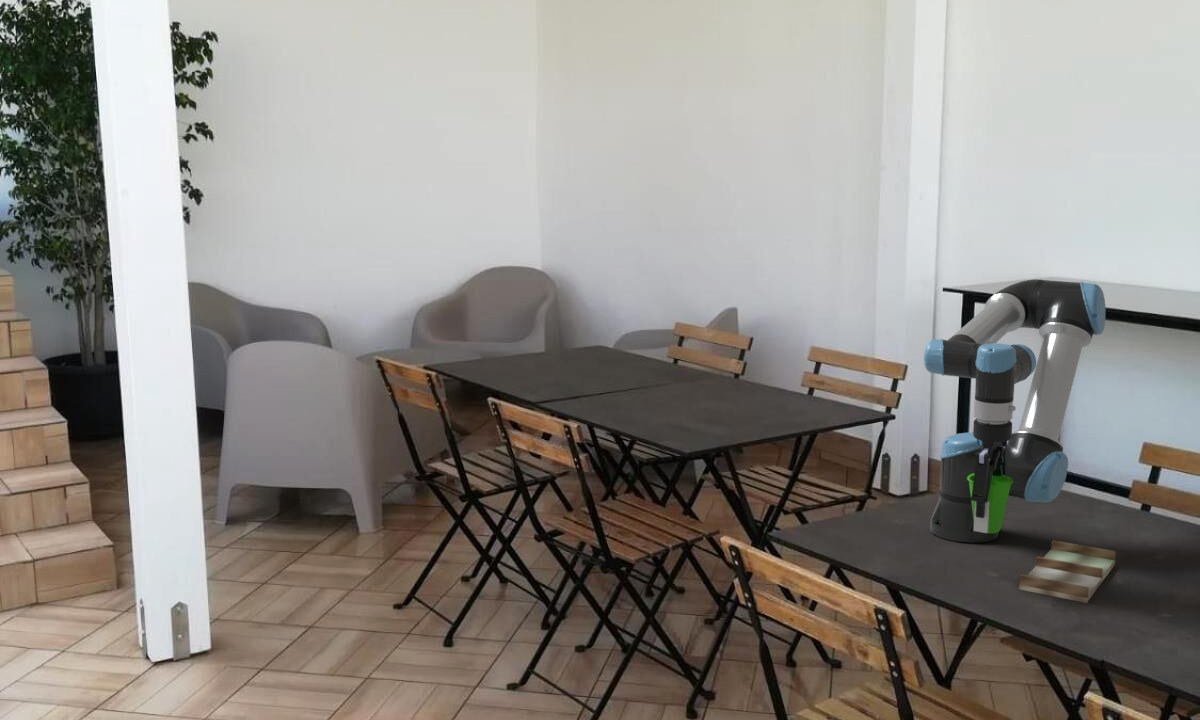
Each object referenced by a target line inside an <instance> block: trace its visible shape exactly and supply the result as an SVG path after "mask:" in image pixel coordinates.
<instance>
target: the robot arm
mask: <svg viewBox="0 0 1200 720" xmlns="http://www.w3.org/2000/svg"><path fill="white" fill-rule="evenodd" d="M1105 324H1106V299H1105V294H1104V291H1103V289H1102V287H1100V286H1099V284H1095V283H1088V282H1084V281H1080V282H1077V281H1076V282H1074V281H1062V280H1051V279H1050V280H1047V279H1035V278H1034V279H1027V280H1022V281H1018V282H1015V283H1013V284H1011V285H1010V284H1009V286H1005V287H1004V288H1002V289H1000V290H998V291H997V292H995V293H994V294H993V295H992V296H990V297H989V298H988V299H987V301H986V302H985V305H984V308H983V309H982V310H981V311H979V313H977V314H976V315H975V316H974V317H973V318H971V320H969V321H968V322H967V323H966V324H965V325H964V326H962V327H961V328H960V329H958V331H956V332H955V333H954V334H953V335H952V336H951V337H949V339H943V338H940V339H931V340H930V341H929V342H928V343H927V345H926V347H925V350H924V355H923V362H924V367H925V369H926V371H928V372H929V373H931V374H937V375H941V376H947V377H958V378H969V379H975V386H974V387H975V389H974V390H975V392H974V394H975V395H974V405H973V417H974V418H975V419H974V420H973V427H972V428H973V429H972V431H973V432H972V431H971V432H962V433H960V432H959V433H955V434H952V435H951V434H950V435H949V436H947V437H945V439H944V440H943V441H942V445H941V454H940V456H939V457H940V472H939V473H940V474H939V497H938V499H937V502H936V505H935V508H934V510H933V513H932V516H931V517H930V524H929V531H930V532H931V533H932V534H933V535H934V534H935V536H937V537H939V538H942V539H945V540H949V541H952V542H960V543H969V544H970V543H974V544H975V543H985V542H986V543H987V542H990V541H994V540H996V539H997V538H998V537H999V532H997V533H987V532H988V518H989V502H988V496H989V490H990V485H991V479H992V475H994V476H1001V475H1006V476H1008V477H1010V478H1012V480H1013V483H1012V484H1011V486H1010V490H1009V495H1008V498H1013V499H1017V500H1022V501H1027V502H1031V503H1032V502H1035V503H1036V502H1037V503H1043V504H1044V503H1046V504H1047V503H1050V502H1052V501H1053V500H1055V499H1056V498H1057V497H1058V495H1059V494H1060V492H1061V490H1062V489H1063V486H1064V484H1065V482H1066V479H1067V474H1068V472H1067V470H1068V467H1069V459H1068V456H1067V454H1065V452H1064V446H1063V445H1062V443H1061V442H1060V440H1059V438H1060V434H1061V430H1062V426H1063V423H1064V419H1065V415H1066V412H1067V411H1066V410H1067V406H1068V404H1069V400H1070V395H1071V392H1072V387H1073V383H1074V381H1075V377H1076V373H1077V368H1078V365H1079V361H1080V357H1081V354H1082V349H1083V348H1085V347H1088V346H1090V344H1091V343H1092V339H1093V336H1098V335H1101V334H1102V333H1103V332H1104V330H1105V326H1106V325H1105ZM1020 328H1022V329H1023V328H1026V329H1037V330H1038V333H1039V335H1040V337H1041V338H1042V344H1041V347H1040V350H1039V353H1038V358H1036V355H1035V352H1034V351H1033V350H1032V349H1031V348H1030V347H1028V346H1027V345H1024V344H1021V343H1019V344H1016V343H1015V344H1007V343H997V342H999V341H1000V340H1001V339H1002V338H1003V337H1004V336H1006V334H1008V333H1011V332H1014V331H1017V330H1018V329H1020ZM1032 374H1033V377H1032V380H1031V383H1030V388H1029V390H1028V394H1027V399H1026V402H1025V406H1024V410H1023V413H1022V416H1021V421H1020V425H1019V427H1018V430H1016V431H1013V423H1012V421H1011V420H1012V419H1013V415H1014V414H1013V413H1014V412H1015V411H1016V406H1015V405H1014V399H1015V398H1014V397H1015V396H1014V394H1015V385H1016V384H1018V383H1019V382H1022V381H1025V380H1026V379H1028V377H1030V376H1031V375H1032ZM971 474H974V481H973V490H972V497H971V493H970V485H969V481H968V479H967V477H968V476H969V475H971ZM979 495H981V496H979ZM971 501H975V509H974V519H973V510H972V502H971Z"/></svg>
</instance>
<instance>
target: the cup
mask: <svg viewBox="0 0 1200 720" xmlns="http://www.w3.org/2000/svg"><path fill="white" fill-rule="evenodd" d="M967 479H968V481H969V485H970V493H971V497H972V490H973V481H974V474H971V475H969V476H968V477H967ZM1012 483H1013V480H1012V478H1010V477H1008V476H1006V475H1001V476H994V475H992V479H991V485H990V490H989V496H988V502H989V518H988V532H987V533H997V532H998V533H999V532H1000V530H1002V526H1003V520H1004V516H1005V511H1006V508H1007V502H1008V499H1009V497H1008V495H1009V490H1010V486H1011V484H1012ZM979 496H981V495H979ZM971 502H972V510H973V519H974V509H975V501H971Z"/></svg>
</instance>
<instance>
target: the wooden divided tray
mask: <svg viewBox="0 0 1200 720" xmlns="http://www.w3.org/2000/svg"><path fill="white" fill-rule="evenodd" d="M1050 548H1051V549H1050V550H1049V551H1048V552H1047V553H1045V555H1044V556H1043V557H1042V556H1036V562H1035V566H1034V568H1032V570H1031V571H1030V572H1029V573H1028V574H1022V573H1021V574H1020V575H1019V587H1018V589H1019V590H1021V591H1024V592H1025V591H1026V592H1030V593H1031V592H1032V593H1034V594H1041V595H1046V596H1050V597H1056V598H1058V599H1059V598H1060V599H1065V600H1070V601H1074V602H1075V601H1076V602H1080V603H1085V604H1087V603H1088V602H1089V600H1090V599H1091V598H1092V597H1093V595H1094V594H1095V592H1096V591H1097V590H1098V588H1099V587H1100V586H1101V584H1102V583H1103V581H1104V580H1105V579H1106V577H1107V576H1108V575H1109V573H1110V572H1111V571H1112V570H1113V568H1114V567H1115V565H1116V556H1117V550H1111V549H1107V548H1106V549H1105V548H1100V547H1094V546H1090V545H1082V544H1078V543H1072V542H1067V541H1066V542H1065V541H1061V540H1055V539H1052V541H1051V547H1050Z"/></svg>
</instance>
